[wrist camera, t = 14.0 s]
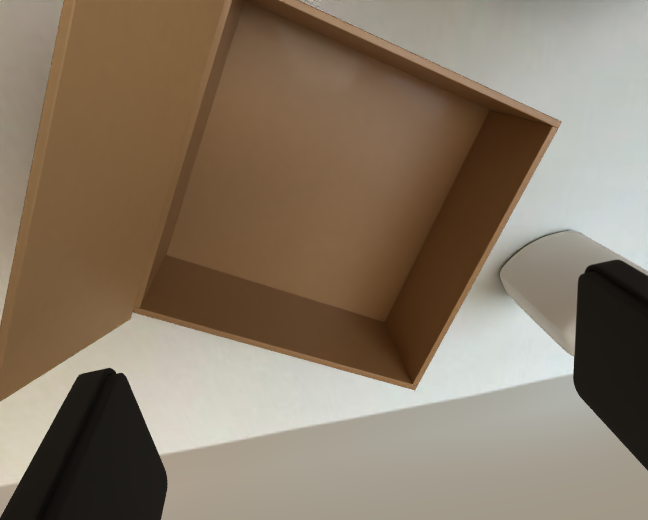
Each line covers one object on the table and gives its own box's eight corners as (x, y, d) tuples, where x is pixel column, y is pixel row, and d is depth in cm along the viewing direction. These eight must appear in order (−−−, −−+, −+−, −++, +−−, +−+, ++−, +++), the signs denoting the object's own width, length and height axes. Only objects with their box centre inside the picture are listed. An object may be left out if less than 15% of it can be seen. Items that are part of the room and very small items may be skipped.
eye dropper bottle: (575, 290, 33) (734, 411, 22) (493, 295, 32) (613, 422, 21) (588, 227, 31) (767, 323, 20) (502, 232, 30) (637, 333, 19)
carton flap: (130, 319, 22) (124, 316, 22) (233, -31, 17) (226, -34, 17) (-7, 406, 15) (-16, 402, 15) (101, -133, 10) (90, -138, 10)
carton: (160, 255, 29) (131, 312, 22) (240, -9, 24) (232, -31, 18) (385, 324, 32) (415, 390, 26) (494, 106, 27) (562, 121, 21)
